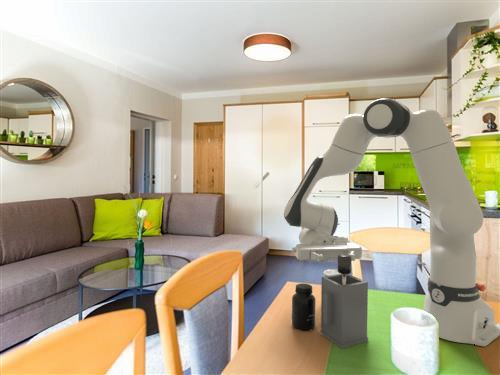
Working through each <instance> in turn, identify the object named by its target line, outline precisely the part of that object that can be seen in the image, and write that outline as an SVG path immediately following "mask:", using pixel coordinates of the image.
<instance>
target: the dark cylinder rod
mask: <svg viewBox="0 0 500 375" xmlns="http://www.w3.org/2000/svg"><path fill="white" fill-rule="evenodd" d="M336 270H337V272H338V273H341V274H342V285H346V274H349V275H351V274H352V261H351V256H350V255H346V254H340V255H338V260H337V269H336Z"/></svg>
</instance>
